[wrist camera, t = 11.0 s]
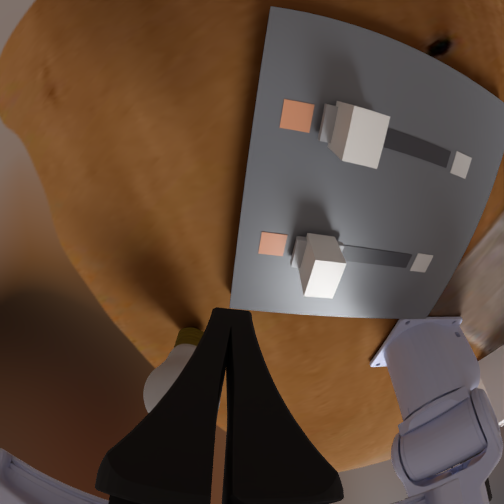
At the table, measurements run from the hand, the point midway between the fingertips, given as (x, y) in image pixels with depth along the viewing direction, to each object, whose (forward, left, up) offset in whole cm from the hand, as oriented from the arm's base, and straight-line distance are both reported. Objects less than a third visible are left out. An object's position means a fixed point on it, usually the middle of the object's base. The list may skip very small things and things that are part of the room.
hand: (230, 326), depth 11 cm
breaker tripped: (-5, -7, -8) cm, 11 cm away
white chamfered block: (-47, +20, -10) cm, 52 cm away
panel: (-9, -3, -9) cm, 13 cm away
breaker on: (-5, +1, -8) cm, 9 cm away
